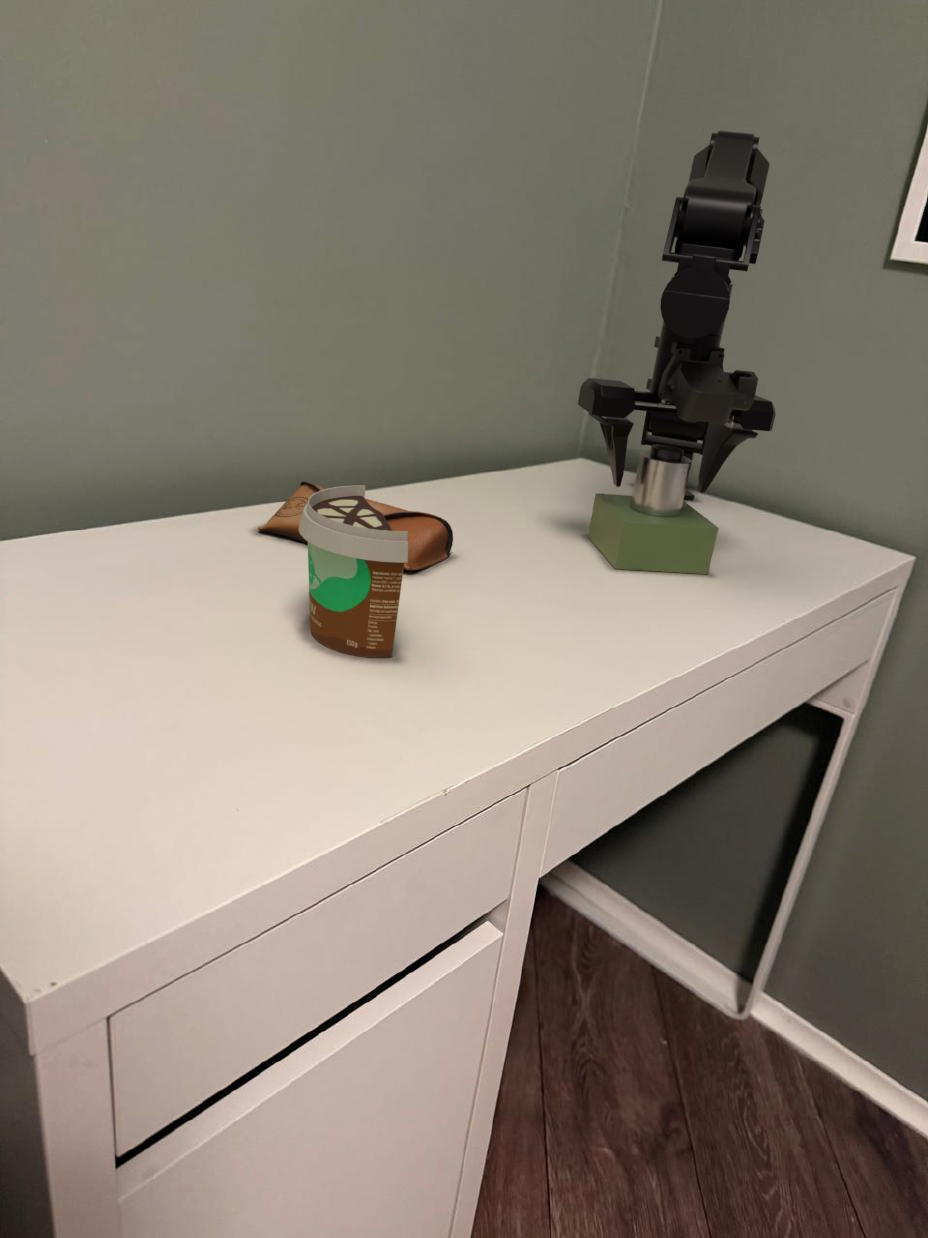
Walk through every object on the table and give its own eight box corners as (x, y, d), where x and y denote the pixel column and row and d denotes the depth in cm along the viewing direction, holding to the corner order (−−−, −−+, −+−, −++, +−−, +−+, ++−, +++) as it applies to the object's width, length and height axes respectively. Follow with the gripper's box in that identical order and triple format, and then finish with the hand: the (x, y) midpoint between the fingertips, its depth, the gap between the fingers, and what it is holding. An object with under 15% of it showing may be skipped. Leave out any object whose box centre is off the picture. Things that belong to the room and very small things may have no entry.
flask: (623, 500, 95) (635, 440, 92) (669, 504, 96) (682, 444, 93) (639, 515, 90) (652, 452, 87) (687, 518, 91) (701, 456, 88)
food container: (281, 602, 72) (285, 482, 68) (355, 600, 74) (363, 483, 70) (312, 672, 62) (320, 534, 58) (397, 666, 64) (410, 534, 60)
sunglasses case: (250, 527, 86) (273, 463, 87) (285, 547, 93) (306, 487, 94) (414, 572, 80) (437, 503, 81) (439, 590, 87) (460, 526, 87)
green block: (587, 536, 98) (595, 492, 96) (672, 542, 100) (682, 499, 98) (614, 569, 89) (624, 521, 87) (707, 574, 91) (719, 527, 89)
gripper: (625, 330, 77) (594, 505, 83) (822, 352, 80) (779, 518, 86) (590, 317, 87) (564, 474, 93) (766, 337, 90) (730, 487, 96)
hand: (659, 488), depth 92 cm, fingers open, 9 cm apart
